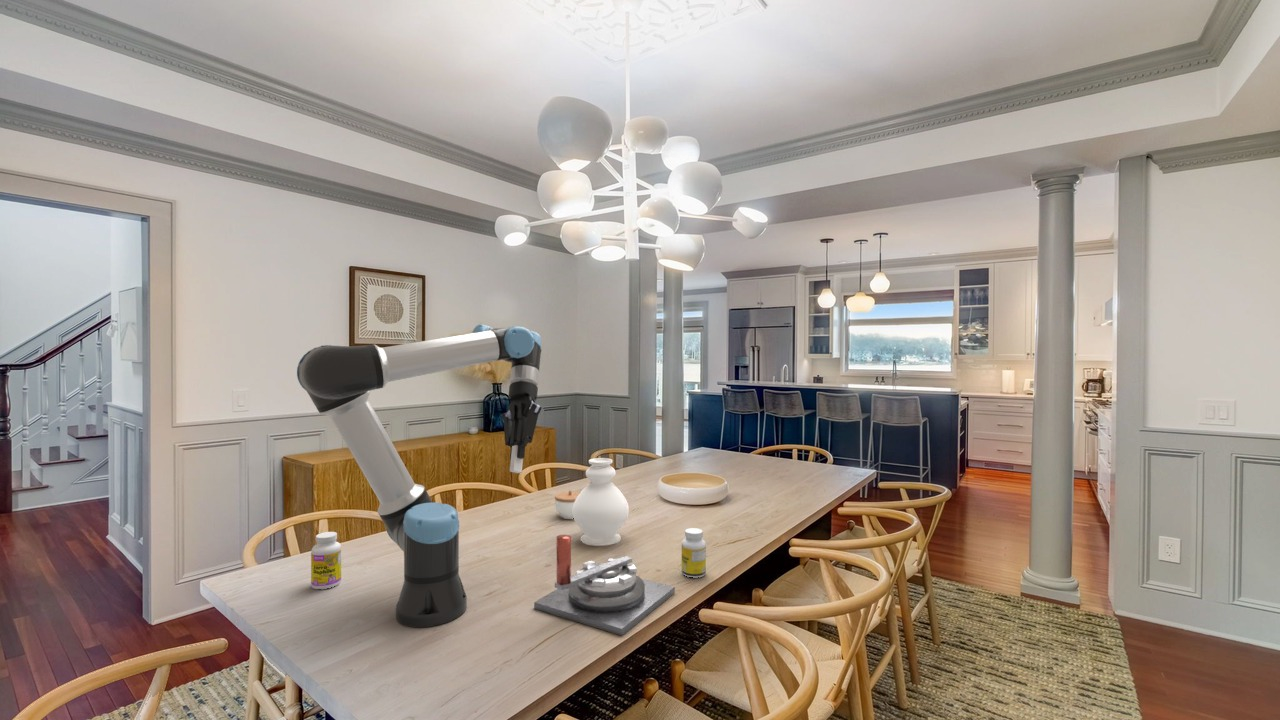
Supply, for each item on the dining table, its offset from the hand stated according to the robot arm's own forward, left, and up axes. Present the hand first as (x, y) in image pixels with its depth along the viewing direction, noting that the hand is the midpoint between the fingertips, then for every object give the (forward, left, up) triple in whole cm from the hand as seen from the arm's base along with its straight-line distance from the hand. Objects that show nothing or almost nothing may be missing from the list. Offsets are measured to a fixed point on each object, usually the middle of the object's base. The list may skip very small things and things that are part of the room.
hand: (515, 471), depth 139 cm
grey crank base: (+5, -24, -29) cm, 38 cm away
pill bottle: (+30, -35, -29) cm, 55 cm away
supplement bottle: (-24, +42, -29) cm, 56 cm away
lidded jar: (+54, +25, -29) cm, 67 cm away
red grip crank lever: (+2, -23, -25) cm, 34 cm away
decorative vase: (+40, +2, -29) cm, 50 cm away
